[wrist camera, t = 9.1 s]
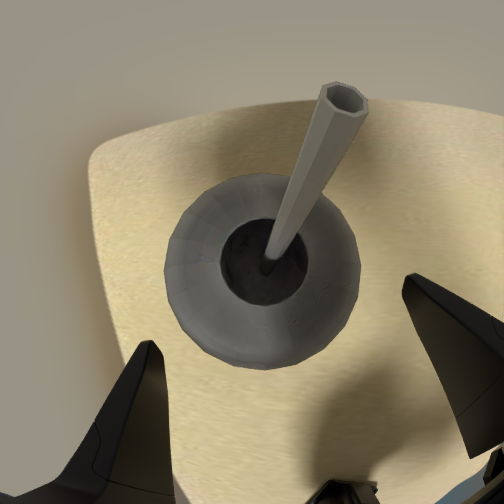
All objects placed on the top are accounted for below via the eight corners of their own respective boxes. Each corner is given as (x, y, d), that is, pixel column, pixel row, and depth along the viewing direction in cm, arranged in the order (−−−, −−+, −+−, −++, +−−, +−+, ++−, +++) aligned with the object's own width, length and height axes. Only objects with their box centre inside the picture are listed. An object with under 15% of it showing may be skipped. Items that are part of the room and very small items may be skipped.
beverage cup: (196, 294, 22) (-59, 278, 2) (249, 220, 23) (214, -40, 3) (271, 347, 21) (330, 583, 1) (323, 272, 22) (560, 171, 2)
